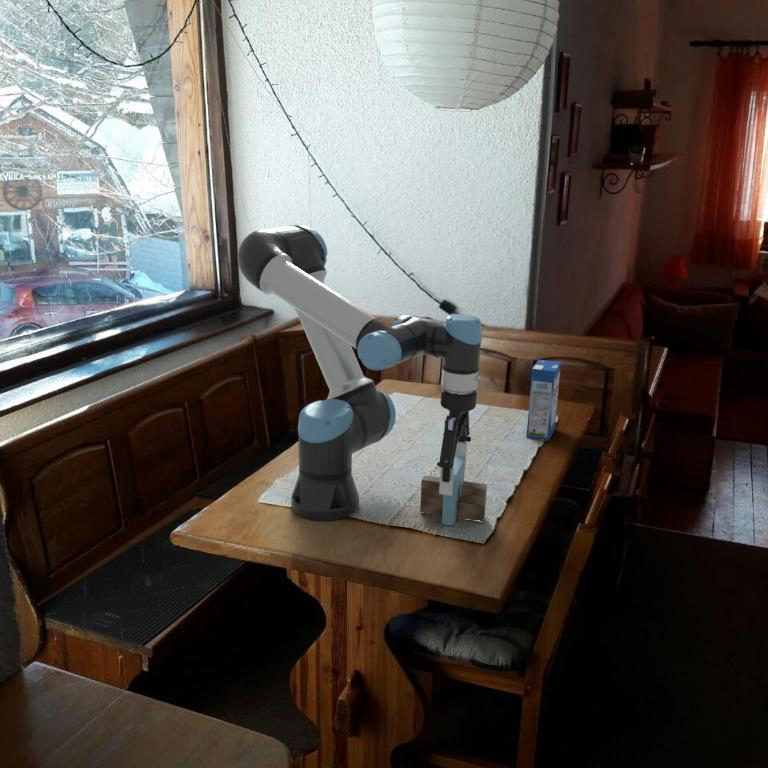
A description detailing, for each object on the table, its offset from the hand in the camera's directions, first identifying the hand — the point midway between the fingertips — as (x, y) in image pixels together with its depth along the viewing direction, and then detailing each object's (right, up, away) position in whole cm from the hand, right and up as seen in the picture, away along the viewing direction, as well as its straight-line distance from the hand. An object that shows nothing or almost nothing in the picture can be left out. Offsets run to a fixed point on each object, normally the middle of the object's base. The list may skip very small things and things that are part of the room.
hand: (452, 481), depth 175 cm
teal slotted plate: (0, -8, +2) cm, 8 cm away
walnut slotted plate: (0, -8, +2) cm, 8 cm away
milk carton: (+29, +7, +52) cm, 60 cm away
